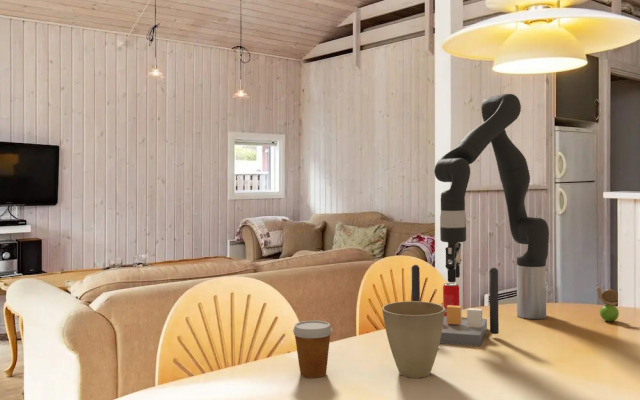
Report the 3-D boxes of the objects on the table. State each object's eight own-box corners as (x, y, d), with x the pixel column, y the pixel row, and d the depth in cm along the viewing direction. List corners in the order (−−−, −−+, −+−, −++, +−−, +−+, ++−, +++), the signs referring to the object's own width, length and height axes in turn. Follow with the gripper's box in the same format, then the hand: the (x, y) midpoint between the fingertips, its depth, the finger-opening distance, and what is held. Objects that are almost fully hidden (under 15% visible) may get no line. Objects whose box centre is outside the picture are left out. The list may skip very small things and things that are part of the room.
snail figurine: (598, 318, 190) (598, 281, 190) (620, 320, 187) (620, 283, 186) (595, 321, 186) (594, 284, 186) (617, 324, 182) (617, 286, 182)
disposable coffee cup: (319, 383, 134) (318, 331, 134) (285, 376, 139) (284, 326, 139) (340, 371, 142) (339, 322, 142) (307, 365, 147) (306, 318, 147)
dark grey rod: (420, 326, 178) (420, 264, 178) (419, 328, 176) (418, 265, 176) (413, 325, 179) (412, 264, 179) (411, 327, 177) (410, 265, 176)
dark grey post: (498, 332, 170) (498, 267, 169) (498, 334, 168) (497, 268, 167) (490, 331, 171) (489, 266, 170) (489, 333, 169) (489, 268, 168)
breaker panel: (487, 328, 180) (486, 302, 179) (480, 346, 161) (479, 317, 161) (432, 324, 186) (431, 299, 186) (419, 341, 167) (419, 313, 167)
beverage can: (440, 319, 192) (439, 283, 192) (452, 317, 194) (452, 282, 194) (450, 323, 188) (449, 286, 187) (462, 321, 190) (462, 284, 189)
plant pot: (380, 363, 147) (379, 301, 147) (439, 363, 147) (438, 300, 146) (385, 384, 132) (384, 315, 132) (451, 383, 132) (450, 314, 131)
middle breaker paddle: (461, 322, 174) (461, 306, 174) (460, 324, 172) (460, 307, 171) (448, 321, 175) (447, 305, 175) (446, 323, 173) (446, 306, 173)
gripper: (462, 227, 164) (463, 284, 165) (468, 223, 178) (469, 276, 178) (436, 227, 167) (437, 283, 168) (444, 223, 180) (445, 275, 181)
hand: (453, 279), depth 173 cm, fingers open, 8 cm apart
